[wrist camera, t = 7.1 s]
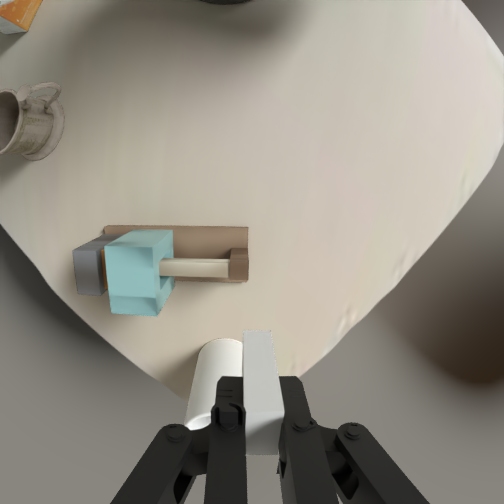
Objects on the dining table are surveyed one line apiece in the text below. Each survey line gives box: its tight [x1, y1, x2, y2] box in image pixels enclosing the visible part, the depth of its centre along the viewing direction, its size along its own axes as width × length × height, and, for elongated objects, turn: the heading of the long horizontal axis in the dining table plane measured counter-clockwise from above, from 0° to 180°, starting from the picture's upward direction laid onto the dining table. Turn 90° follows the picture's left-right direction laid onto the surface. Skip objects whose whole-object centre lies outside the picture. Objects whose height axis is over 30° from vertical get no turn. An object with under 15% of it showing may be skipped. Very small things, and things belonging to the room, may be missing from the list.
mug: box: [0, 82, 64, 161], centre depth 30 cm, size 14×10×12 cm
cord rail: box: [73, 225, 249, 296], centre depth 36 cm, size 7×19×10 cm, turn 88°
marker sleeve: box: [104, 230, 175, 316], centre depth 33 cm, size 7×5×9 cm
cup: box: [184, 338, 247, 456], centre depth 37 cm, size 8×8×16 cm
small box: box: [0, 0, 42, 34], centre depth 23 cm, size 8×6×13 cm
